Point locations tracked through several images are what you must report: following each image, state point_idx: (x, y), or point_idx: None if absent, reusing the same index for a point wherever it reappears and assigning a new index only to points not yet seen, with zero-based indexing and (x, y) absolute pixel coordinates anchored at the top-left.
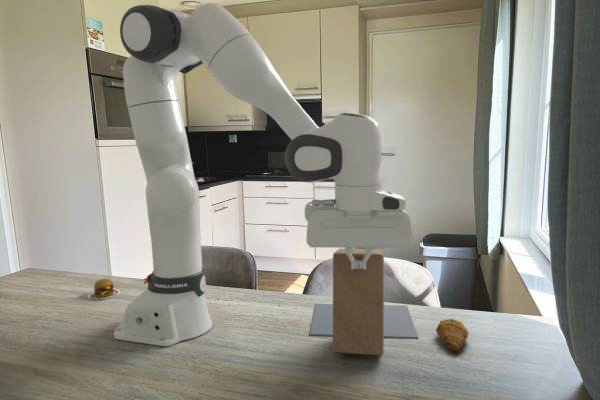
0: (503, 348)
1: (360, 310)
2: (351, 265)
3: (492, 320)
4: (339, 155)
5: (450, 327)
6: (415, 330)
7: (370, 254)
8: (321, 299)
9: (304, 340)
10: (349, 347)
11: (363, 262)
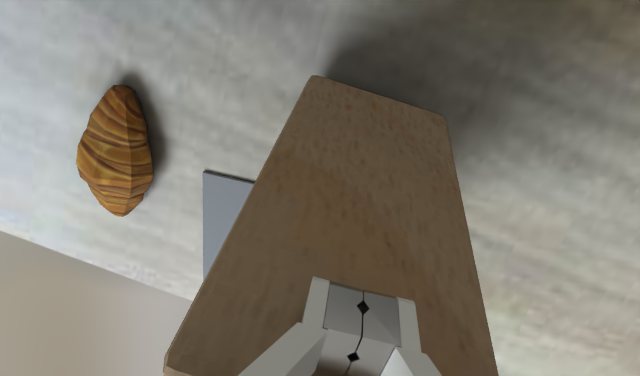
0: (20, 94)
1: (361, 162)
2: (415, 322)
3: (37, 213)
4: None
5: (108, 154)
6: (203, 201)
7: (253, 369)
8: None
9: (483, 212)
10: (401, 108)
11: (326, 320)
